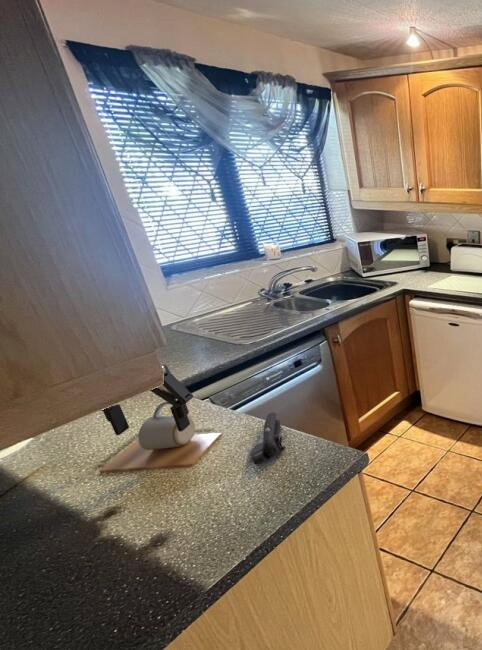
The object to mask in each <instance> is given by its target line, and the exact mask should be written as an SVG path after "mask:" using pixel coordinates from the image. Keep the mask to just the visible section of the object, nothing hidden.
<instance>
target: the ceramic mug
mask: <svg viewBox="0 0 482 650" xmlns="http://www.w3.org/2000/svg"><path fill="white" fill-rule="evenodd" d="M165 405H171V404H170V403H168V402H167V401H163V402H162V403H160V404H159V405H158V406H156V407H155V410H154V412H153V416H150V417H148V418H147V419H145V420H144V422H143V423H142V424H141V426H140V428H139V430H138V436H137V438H138V439H137V440H138V441H139V444H140V446H141V447H142V448H143V449H145V450H153V449H162V448H171V447H179V446H182V445H185V444H187V443H188V442H189V441H190V440H191V439H192V437H193V435H195V431H196V425H195V422H194V420H193V419H192V418H191V417H190V416H188V419H189V422H190V425H189V426H188V427H187V428H185V429H184V430H183V431H179V430H178V428H177V425H176V423H175V420H174V417H173V415H160V414H161V411H162V408H163V407H164V406H165Z"/></svg>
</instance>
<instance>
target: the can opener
mask: <svg viewBox="0 0 482 650" xmlns="http://www.w3.org/2000/svg"><path fill="white" fill-rule="evenodd" d="M262 437H263V438H262V443H261V444H259V445H258V446H256V447H254V449H253V450H252V452H251V460H252V462H253V464H254V465H257V464H258V465H259V464H261V463H265V462H266V461H268V459H269V457H276V456H278V455H279V454H281V453H282V452H284V451H285V449H286V446H285V445H284V442H283V439H284V438H285V436H284V434H283V433H281V421H280V420H279V419H277V413H276V412H270V413H269V414H267V416H266V418H265V420H264V425H263V435H262Z"/></svg>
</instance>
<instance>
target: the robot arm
mask: <svg viewBox="0 0 482 650" xmlns="http://www.w3.org/2000/svg"><path fill="white" fill-rule="evenodd" d="M161 365H162V368H163V371H164V384H163V385H162V386H160V387H158V388H155V389H153V390H149V391H150V392H151V393H153V394H154V395H156V396H157V397H159V398H160V399H162V400H163V401H164V402H168V403H170V404H169V405H171V406H170V407H169V409H170V412H171V414H172V415H171V416H173V417H174V420H175V423H176V425H177V428H178V430H179V431H183V430H184V429H185V428H187V427H188V426H189V425H190V422H189V419H188V417H189V416H188V415H189V414H190V412H189V408H188V406H187V403H189V402H190V400H192V399H193V398H194V394H193V393H192V392H191V391H189V389H187V388H186V387H185V385H183V383H182V382H181V381H180V380H179V379H177V378H176V376H175V375H173V373H172V372H171V371H170V368H169V367H168V365H167V364H165V363H162V364H161ZM100 411H101V412H103V415H104V417H105V419H106V421H107V422H110V425H111V427H112V429H113V432H114V434H115V436H120V435H122V434H123V433H124V432H126V431H127V430H128V429H130V426H129V423H128V421H127V418H126V416H125V414H124V411H123V408H122V407H121V405H120V404H119V403H118V404H117V403H116V404H114V405H113V406H111V407H109V408H106V409H104V410H100Z"/></svg>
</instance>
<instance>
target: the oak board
mask: <svg viewBox="0 0 482 650" xmlns="http://www.w3.org/2000/svg"><path fill="white" fill-rule="evenodd" d="M222 436H223V432H212V433H199V434H198V433H196V434H194V435H193V437H192V439H191V440H190V441H189V442H188V443H187V444H185V445H182V446H179V447H171V448H162V449H153V450H145V449H143V448H142V447H141V446H140V444H139V441H138V439H136V440H135V441H134V442H132V443H131V444H130V445H129V446H128V447H126V448H125V449H124V450H123V451H121V452H120V453H119V454H117V455H116V456H115V457H114V458H112V460H110V461H109V462H108V463H106V464H105V465H103V467H102V468H100V469H99V470H98V472H99V473H114V472H123V471H124V472H125V471H138V470H139V471H140V470H152V469H165V468H166V469H167V468H178V467H179V468H180V467H192V466H194V465H195V464H196V463H197V462H198V461H199V460H200V459H201V458H202V457H203V456H204V455H205V454H206V453H207V452H208V451H209V449H210V448H211V447H212V446H213V445H214V444H215V443H216V442H217V441H218V440H219V439H220V438H221V437H222Z"/></svg>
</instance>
